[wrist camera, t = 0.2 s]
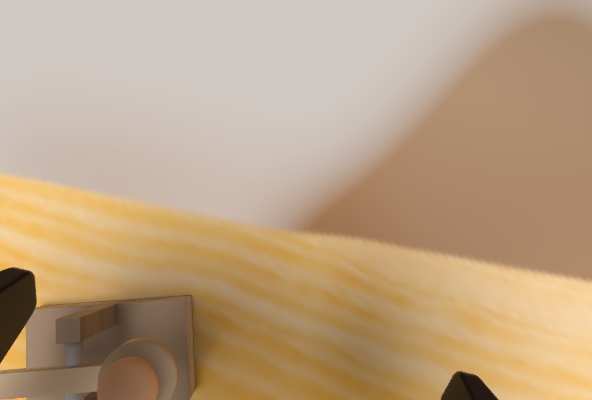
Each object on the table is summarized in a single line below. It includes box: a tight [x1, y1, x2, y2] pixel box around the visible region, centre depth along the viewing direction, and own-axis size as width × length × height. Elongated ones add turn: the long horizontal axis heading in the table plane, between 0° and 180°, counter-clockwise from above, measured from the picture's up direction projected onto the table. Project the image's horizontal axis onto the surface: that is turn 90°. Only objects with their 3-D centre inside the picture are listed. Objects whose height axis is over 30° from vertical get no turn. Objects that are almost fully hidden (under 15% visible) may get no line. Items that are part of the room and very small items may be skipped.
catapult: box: [0, 295, 195, 400], centre depth 19 cm, size 8×5×8 cm, turn 94°
